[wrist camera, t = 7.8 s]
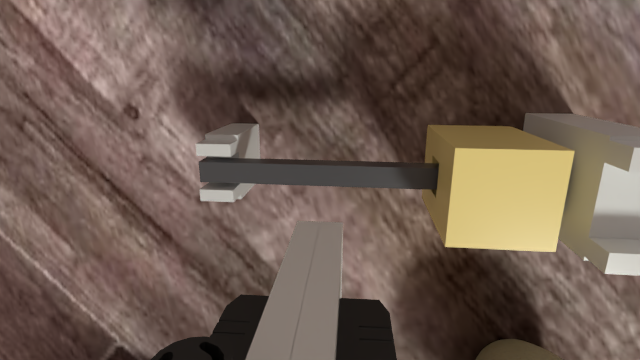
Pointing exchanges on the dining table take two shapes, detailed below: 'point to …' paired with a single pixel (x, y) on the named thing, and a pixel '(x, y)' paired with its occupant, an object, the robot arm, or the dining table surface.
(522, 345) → the flower pot
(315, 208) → the dining table surface
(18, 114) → the dining table surface
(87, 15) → the dining table surface
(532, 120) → the linear slide mechanism
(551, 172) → the sleeve
